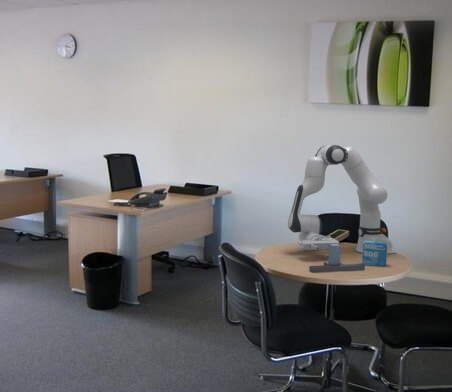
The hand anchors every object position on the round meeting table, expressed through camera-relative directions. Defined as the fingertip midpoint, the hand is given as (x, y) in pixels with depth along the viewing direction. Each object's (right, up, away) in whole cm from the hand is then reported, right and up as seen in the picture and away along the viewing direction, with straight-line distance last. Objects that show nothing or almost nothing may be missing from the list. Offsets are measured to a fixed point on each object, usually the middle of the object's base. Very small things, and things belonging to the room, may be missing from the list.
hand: (325, 248), depth 275 cm
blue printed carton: (+25, -9, 0) cm, 26 cm away
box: (+15, -2, +52) cm, 54 cm away
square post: (+2, -9, -9) cm, 13 cm away
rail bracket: (+3, -10, -11) cm, 15 cm away
